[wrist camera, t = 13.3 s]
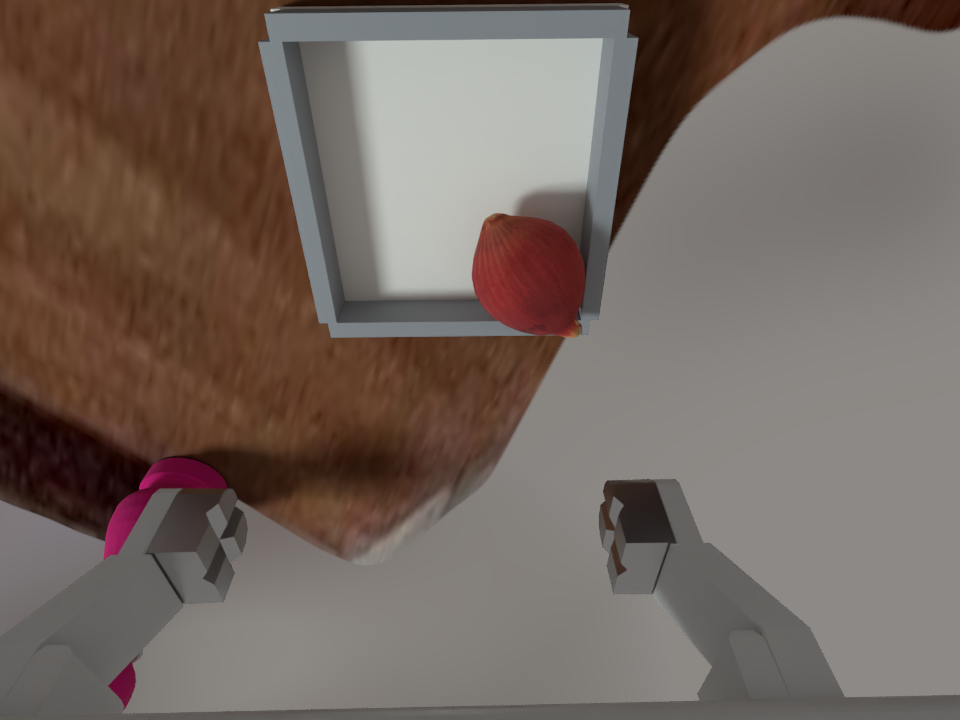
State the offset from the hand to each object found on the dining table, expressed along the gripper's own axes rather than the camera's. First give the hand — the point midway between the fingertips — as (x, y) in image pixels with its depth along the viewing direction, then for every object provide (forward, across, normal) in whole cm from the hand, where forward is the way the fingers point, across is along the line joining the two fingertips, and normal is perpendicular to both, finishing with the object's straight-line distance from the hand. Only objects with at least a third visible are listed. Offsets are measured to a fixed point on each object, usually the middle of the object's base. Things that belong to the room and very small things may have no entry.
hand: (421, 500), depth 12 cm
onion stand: (+23, 0, 0) cm, 23 cm away
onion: (+19, -2, +1) cm, 19 cm away
